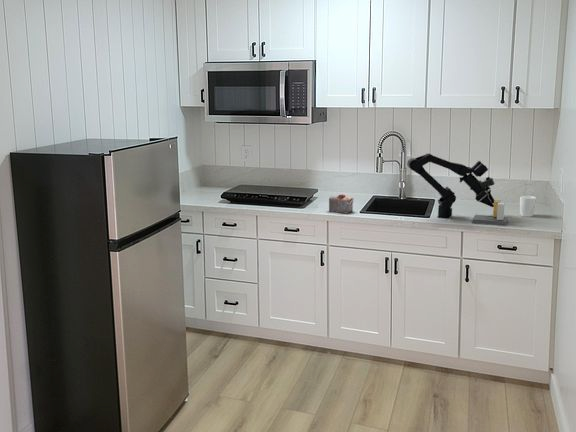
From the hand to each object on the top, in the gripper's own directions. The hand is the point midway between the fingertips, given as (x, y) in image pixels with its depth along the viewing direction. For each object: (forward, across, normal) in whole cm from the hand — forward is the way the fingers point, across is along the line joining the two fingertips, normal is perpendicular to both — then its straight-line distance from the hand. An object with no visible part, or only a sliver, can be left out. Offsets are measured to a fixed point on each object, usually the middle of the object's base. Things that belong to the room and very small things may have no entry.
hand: (494, 204), depth 306 cm
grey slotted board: (+4, -9, +6) cm, 11 cm away
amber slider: (+5, -5, +2) cm, 7 cm away
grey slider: (+6, -11, +1) cm, 13 cm away
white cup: (+16, +13, -6) cm, 22 cm away
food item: (-52, -10, +62) cm, 82 cm away
